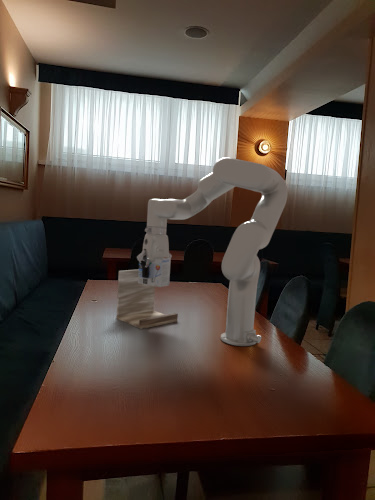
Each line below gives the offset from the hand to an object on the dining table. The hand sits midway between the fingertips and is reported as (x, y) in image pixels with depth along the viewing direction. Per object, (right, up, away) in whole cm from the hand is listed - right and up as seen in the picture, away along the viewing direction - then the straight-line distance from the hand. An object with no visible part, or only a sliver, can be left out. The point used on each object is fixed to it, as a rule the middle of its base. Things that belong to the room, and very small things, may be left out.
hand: (153, 276), depth 149 cm
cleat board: (-3, -17, +4) cm, 18 cm away
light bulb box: (0, -3, 0) cm, 3 cm away
